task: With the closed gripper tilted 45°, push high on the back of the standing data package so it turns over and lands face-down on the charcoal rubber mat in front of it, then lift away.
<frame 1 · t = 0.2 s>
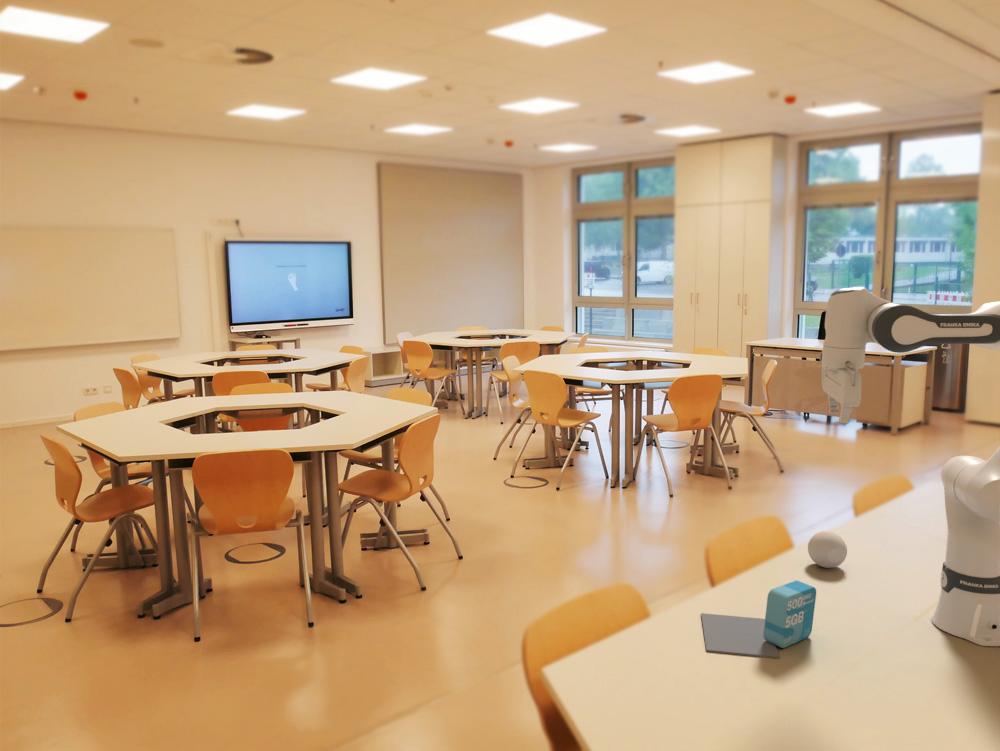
hand: (838, 418, 177), 48 cm above the table, tool pointing down, fingers open, 8 cm apart
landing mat: (737, 635, 173), on the table
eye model: (826, 567, 214), on the table
data package: (786, 639, 171), on the table, touching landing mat
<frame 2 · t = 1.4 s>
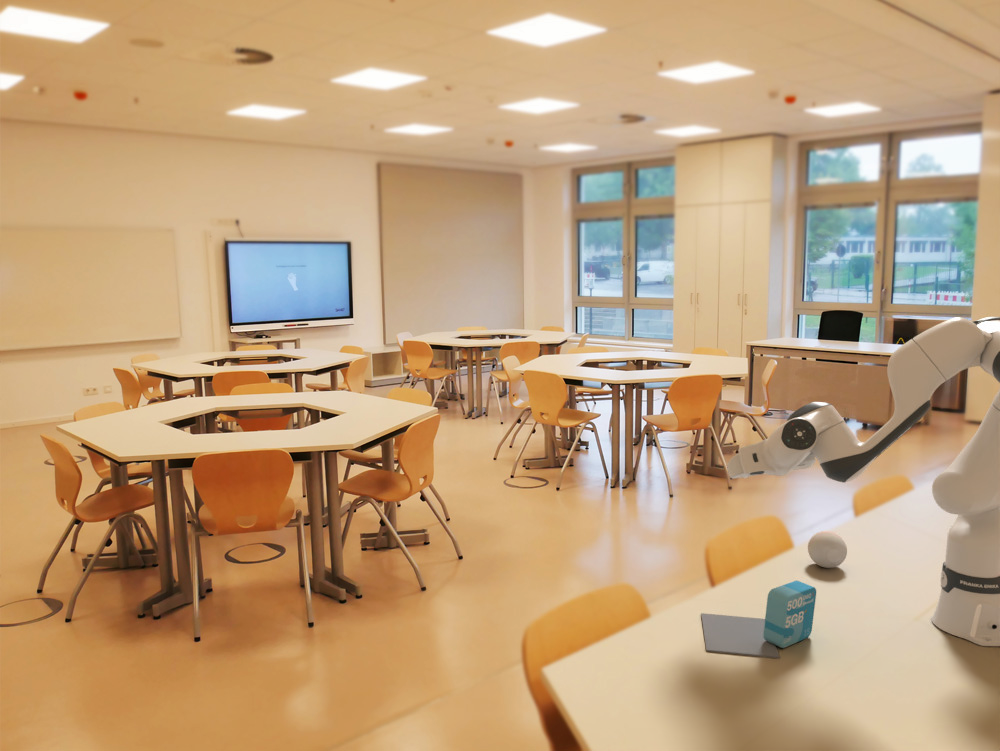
hand: (762, 472, 192), 31 cm above the table, tool tilted 60°, fingers open, 8 cm apart
nothing on the table moved.
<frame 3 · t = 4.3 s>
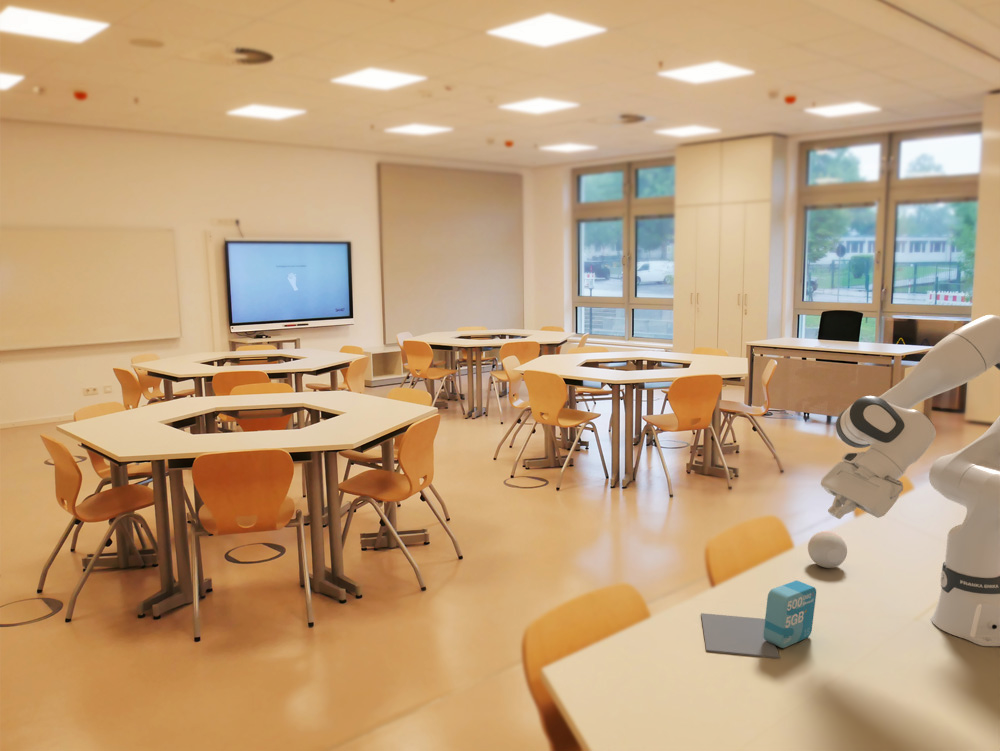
hand: (833, 515, 172), 27 cm above the table, tool tilted 45°, fingers closed
nothing on the table moved.
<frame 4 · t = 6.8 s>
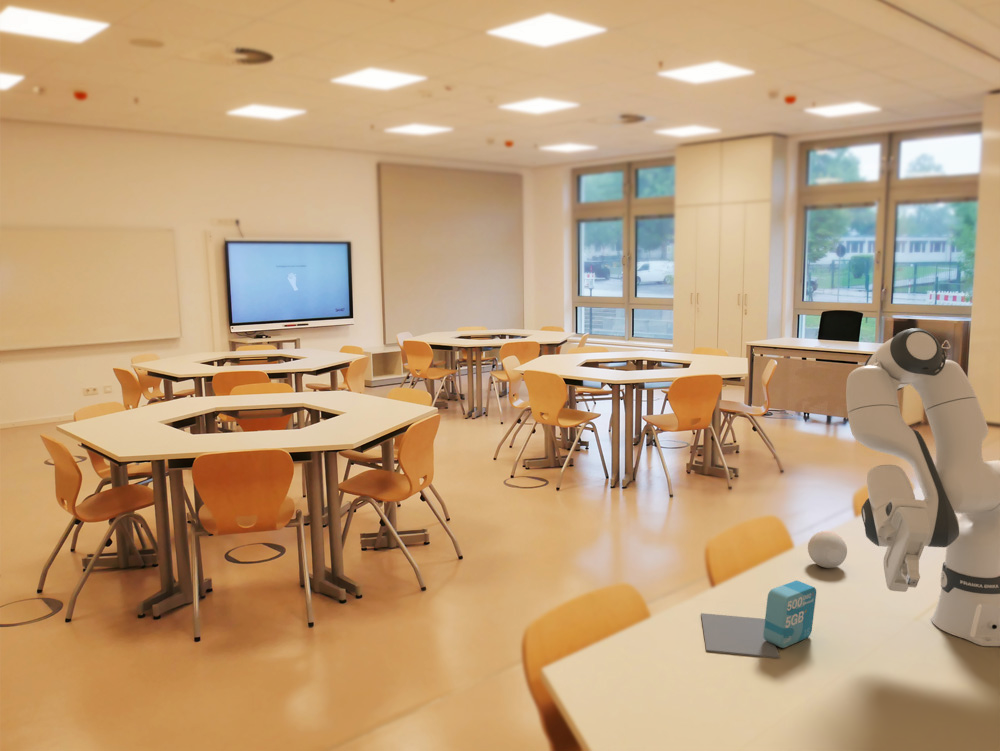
hand: (913, 582, 149), 22 cm above the table, tool tilted 60°, fingers closed
nothing on the table moved.
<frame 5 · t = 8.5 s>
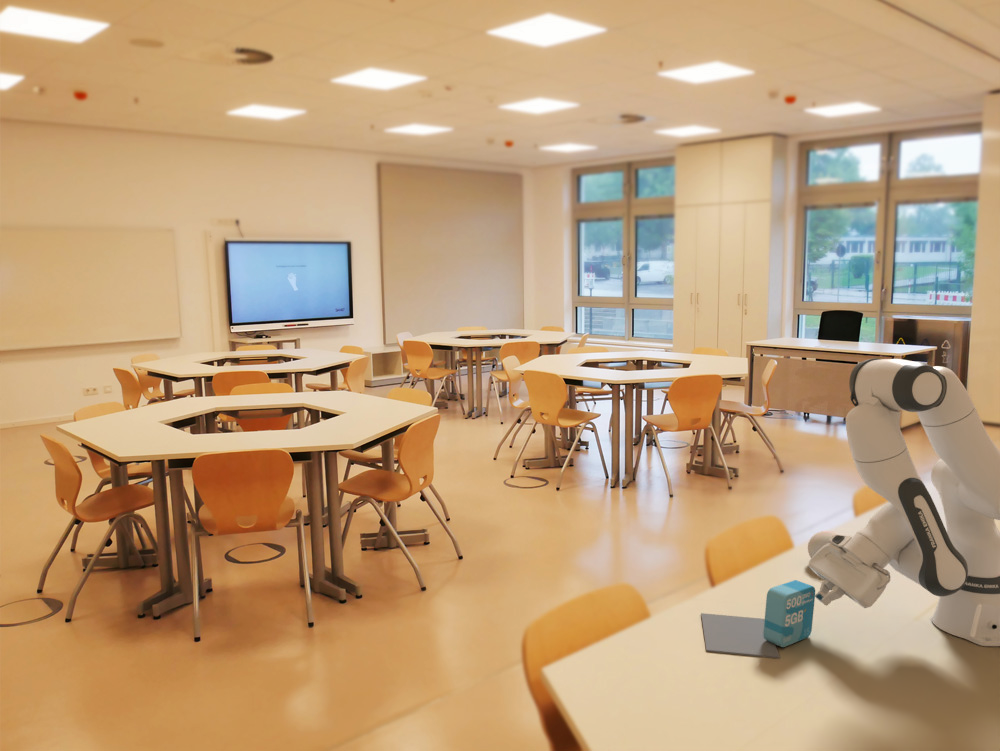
hand: (820, 601, 170), 9 cm above the table, tool tilted 45°, fingers closed
data package: (787, 639, 171), on the table, touching gripper, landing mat
everything else where it was.
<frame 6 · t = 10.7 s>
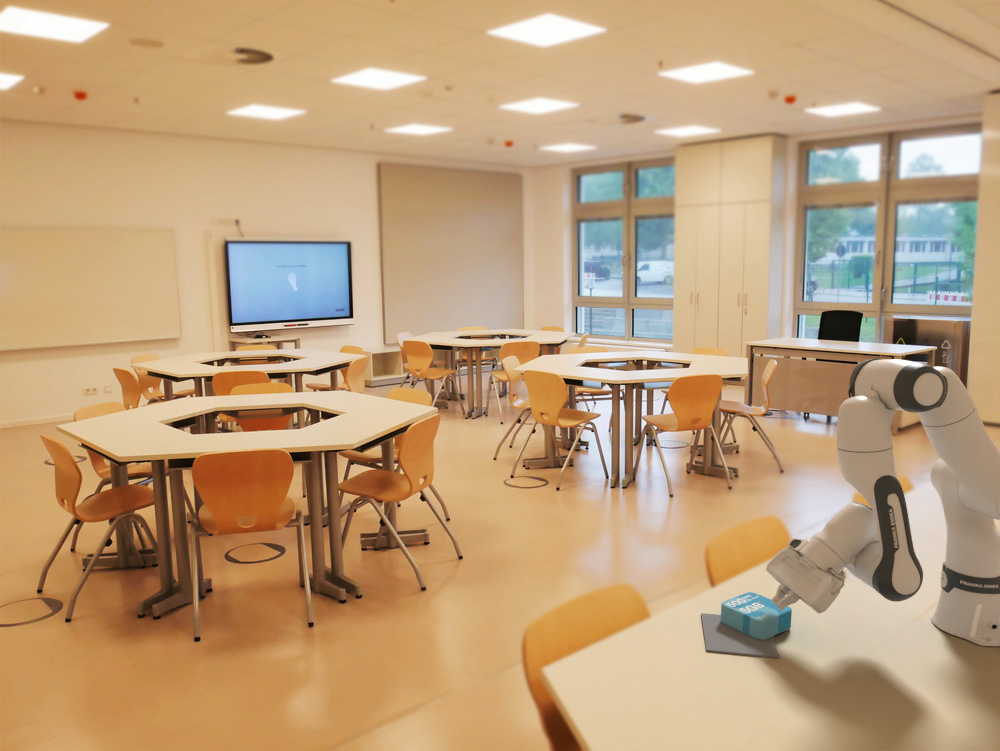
hand: (775, 605, 169), 9 cm above the table, tool tilted 45°, fingers closed
data package: (779, 625, 173), point 3 cm above the table, touching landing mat
everything else where it was.
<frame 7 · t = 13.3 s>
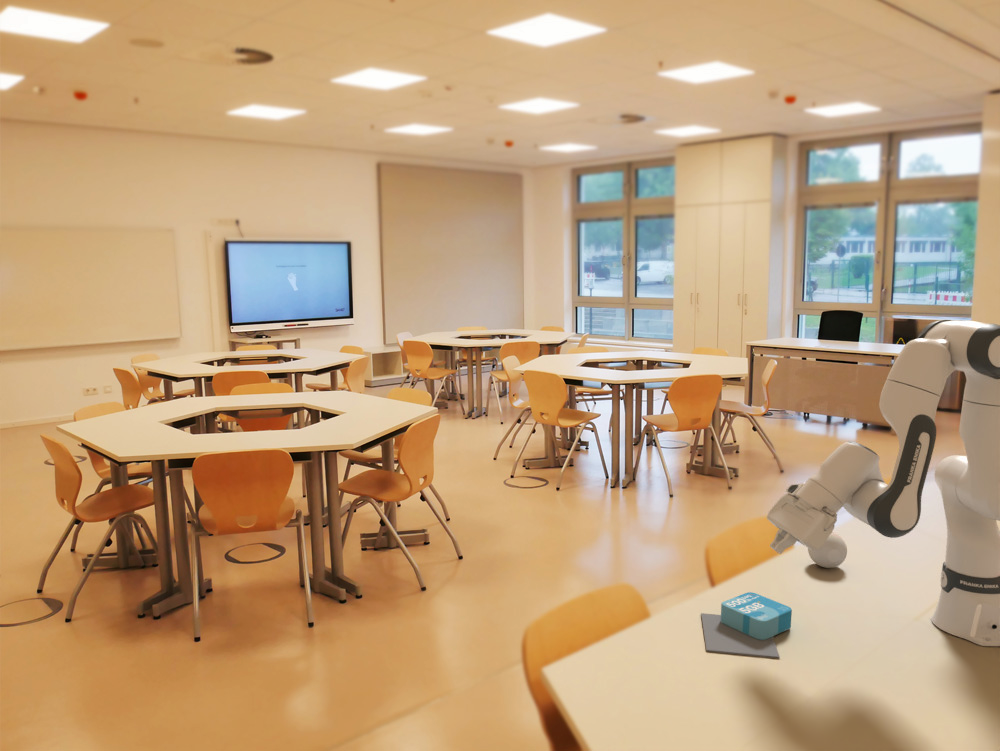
hand: (774, 550, 168), 21 cm above the table, tool tilted 40°, fingers closed
nothing on the table moved.
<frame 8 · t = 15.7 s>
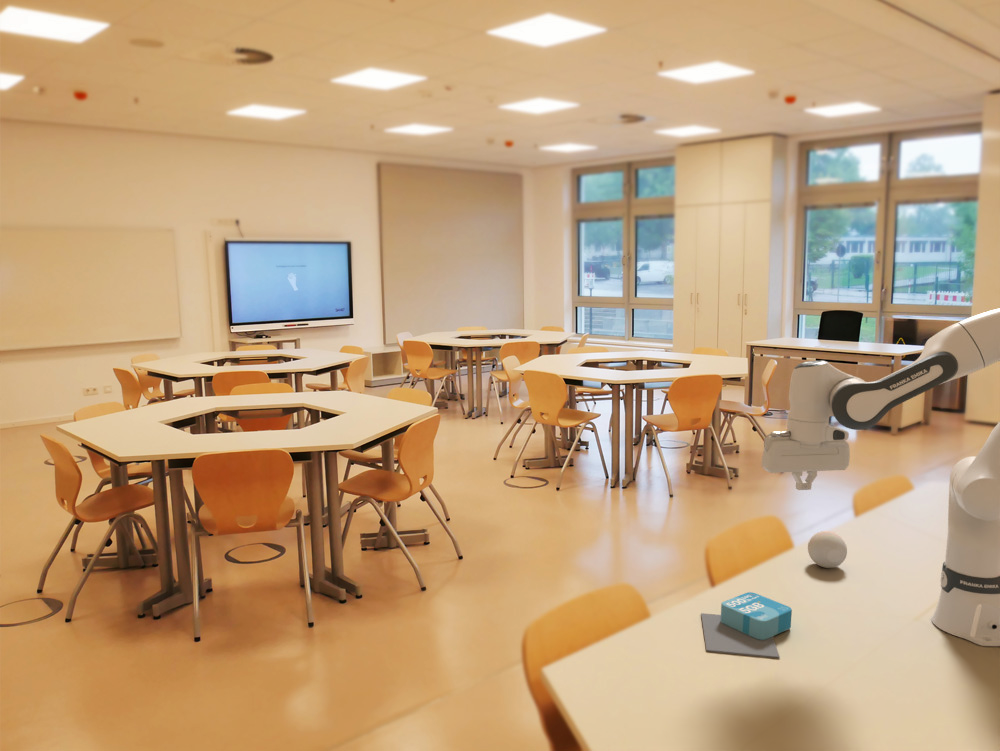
hand: (803, 489, 179), 31 cm above the table, tool pointing down, fingers closed
nothing on the table moved.
at the end: data package tilted 90°; data package touching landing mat; data package inside the target area (3.0 cm from its centre), point 2.7 cm above the table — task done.
